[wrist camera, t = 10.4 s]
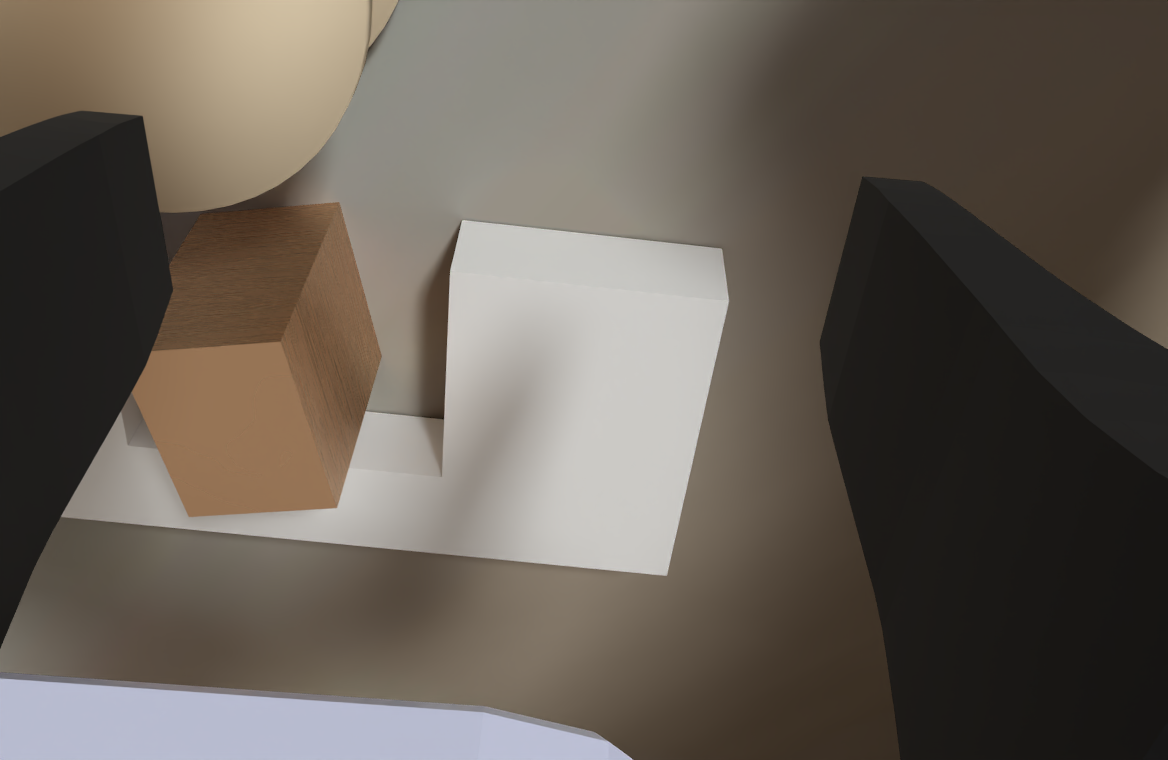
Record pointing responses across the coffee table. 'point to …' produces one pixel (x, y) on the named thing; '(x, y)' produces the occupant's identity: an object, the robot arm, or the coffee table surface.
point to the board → (508, 415)
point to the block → (261, 362)
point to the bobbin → (194, 81)
